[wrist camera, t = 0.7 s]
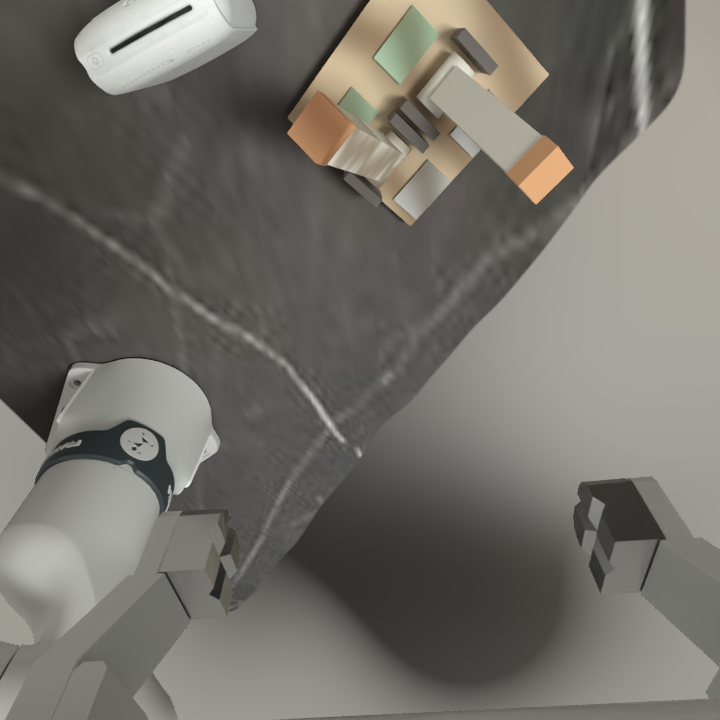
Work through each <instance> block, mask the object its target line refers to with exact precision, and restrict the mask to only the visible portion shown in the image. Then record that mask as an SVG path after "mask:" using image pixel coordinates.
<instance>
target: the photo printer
mask: <svg viewBox="0 0 720 720" xmlns="http://www.w3.org/2000/svg"><path fill="white" fill-rule="evenodd" d="M255 23H256V11H255V7H254V4H253V1H252V0H120V1H119V2H117V3H116V4H114V5H112V6H111V7H109V8H108V9H106V10H105V11H103V12H102V13H100V14H99V15H98V16H96V17H95V18H94V19H92V21H91V22H90V23H88V24H87V25H86V26H85V27H84V28H83V29H82V30H81V32H80V33H79V34H78V36H77V37H76V39H75V42H74V49H75V53H76V56H77V58H78V60H79V61H80V62H81V64H82V65H83V66H84V67H85V69H86V71H87V73H88V75H89V77H90V78H91V80H92V81H93V82H94V83H95V84H96V85H97V86H98V87H100V88H101V89H102V90H104V91H105V92H107V93H109V94H111V95H119V94H124V93H128V92H132V91H136V90H139V89H143V88H147V87H151V86H154V85H158V84H162V83H165V82H168V81H171V80H173V79H175V78H177V77H180V76H182V75H184V74H186V73H188V72H190V71H192V70H194V69H196V68H198V67H200V66H202V65H204V64H206V63H207V62H209V61H211V60H213V59H215V58H217V57H218V56H220V55H222V54H224V53H225V52H227V51H229V50H230V49H232V48H234V47H235V46H237V45H239V44H240V43H242V42H244V41H245V40H246V39H248V38H249V37H250V36H251V35H253V34H254V33H255V32H256V31H257V28H256V26H255Z"/></svg>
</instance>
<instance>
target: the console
mask: <svg viewBox="0 0 720 720" xmlns="http://www.w3.org/2000/svg"><path fill="white" fill-rule="evenodd" d="M453 51H454V52H455V53H457V54H458V55H459V56H460V57H461V58H462V59H463V60H464V61H465V62H466V63H467V64H468V65H469V66H470V68H471V69H472V70H473V71H474V73H475V76H474V77H473V79H474V80H475V81H476V82H477V83H478V84H480V85H481V86H482V87H483V88H485V89H486V90H487V91H488V92H489V93H491V94H492V95H493V96H494V97H495V98H497V99H498V100H499V101H500V102H501V103H503V104H504V105H505V106H506V107H508V108H509V109H510V110H511V111H512V112H515V111H516V110H517V109H518V108H519V107H520V106H521V105H522V104H523V103H524V102H525V100H526V99H527V98H528V97H529V96H530V95H531V94H532V93H533V92H534V91H535V90H536V88H537V87H538V86H539V85H540V84H541V83H542V82H543V81H544V80H545V79H546V78H547V76H548V75H549V74H548V73H547V72H546V71H545V69H544V68H543V67H542V66H541V65H540V63H539V62H538V61H537V60H536V59H535V57H534V56H533V55H532V54H531V53H530V51H529V50H528V49H527V48H526V47H525V46H524V44H523V43H522V42H521V41H520V40H519V38H518V37H517V36H516V35H515V34H514V32H513V31H512V30H511V29H510V28H509V26H508V25H507V24H506V23H505V22H504V21H503V19H502V18H501V17H500V16H499V15H498V13H497V12H496V11H495V10H494V9H493V7H492V6H491V5H490V4H489V3H488V1H487V0H370V1H369V2H368V4H367V5H366V7H365V8H364V10H363V11H362V12H361V14H360V15H359V17H358V18H357V20H356V21H355V22H354V24H353V25H352V27H351V28H350V29H349V31H348V32H347V34H346V35H345V37H344V38H343V39H342V41H341V42H340V44H339V45H338V47H337V48H336V49H335V51H334V52H333V54H332V55H331V56H330V58H329V59H328V61H327V62H326V64H325V65H324V66H323V68H322V69H321V71H320V72H319V74H318V75H317V76H316V78H315V79H314V81H313V82H312V83H311V85H310V86H309V88H308V89H307V91H306V92H305V93H304V95H303V96H302V98H301V99H300V101H299V102H298V103H297V105H296V106H295V108H294V109H293V110H292V112H291V113H290V115H289V116H288V119H289V120H290V121H291V122H292V123H293V126H292V127H291V128H290V130H289V131H288V133H287V134H288V135H289V136H290V137H291V138H292V139H293V140H294V141H295V142H296V143H297V144H298V145H299V146H300V147H301V148H302V149H303V150H304V152H305V153H306V154H307V155H308V156H309V157H310V158H311V159H312V160H313V161H314V162H315V163H316V164H319V165H322V166H326V165H330V166H333V167H336V168H339V169H342V170H344V177H343V179H344V180H345V181H346V182H347V183H348V184H350V185H351V186H352V187H353V188H354V189H355V190H356V191H358V192H359V193H360V194H361V195H362V196H363V197H365V198H366V199H367V200H368V201H369V202H370V203H371V204H373V205H374V206H375V207H377V206H378V205H379V204H380V203H381V202H383V203H385V204H386V205H387V206H388V207H389V208H390V209H391V210H393V211H394V212H395V213H396V214H397V215H398V216H399V217H401V218H402V219H403V220H404V221H405V222H406V223H407V224H409V225H410V226H411V225H412V224H413V223H414V222H415V221H416V219H417V218H418V217H419V216H420V215H421V214H422V213H423V212H424V211H425V210H426V209H427V207H428V206H429V205H430V204H431V203H432V202H433V201H434V200H435V199H436V198H437V197H438V195H439V194H440V193H441V192H442V191H443V190H444V189H445V188H446V187H447V186H448V185H449V183H450V182H451V181H452V180H453V179H454V178H455V177H456V176H457V175H458V174H459V173H460V171H461V170H462V169H463V168H464V167H465V166H466V165H467V164H468V163H469V162H470V161H471V159H472V158H473V157H474V156H475V155H476V154H477V153H478V152H479V151H480V150H481V149H480V148H479V147H478V146H477V145H476V144H475V143H474V142H473V141H472V140H471V139H470V138H469V137H468V136H467V135H466V134H465V133H464V132H463V131H462V130H461V129H460V128H459V127H458V126H457V125H456V124H455V123H453V122H452V121H451V120H450V119H449V118H448V117H447V116H446V115H445V114H444V113H443V114H442V115H441V116H440V117H439V119H437V118H436V117H435V116H434V115H433V114H432V113H431V112H430V111H429V110H428V109H427V108H426V107H425V106H424V104H423V103H422V102H421V101H420V100H419V99H418V98H417V97H416V96H417V95H418V94H419V93H420V92H421V90H422V89H423V88H424V87H425V85H426V84H427V83H428V82H429V80H430V79H431V78H432V77H433V75H434V74H435V73H436V72H437V71H438V69H439V68H440V67H441V66H442V64H443V63H444V62H445V61H446V59H447V58H448V57H449V56H450V54H451V53H452V52H453Z"/></svg>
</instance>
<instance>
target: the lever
mask: <svg viewBox="0 0 720 720" xmlns="http://www.w3.org/2000/svg"><path fill="white" fill-rule="evenodd" d="M474 76H475V73H474V71H473V70H472V69H471V68H470V66H469V65H468V64H467V63H466V62H465V61H464V60H463V59H462V58H461V57H460V56H459V55H458V54H457V53H455V52H454V51H453V52H452V53H451V54H450V56H449V57H448V58H447V59H446V61H445V62H444V63H443V64H442V66H441V67H440V68H439V69H438V71H437V72H436V73H435V74H434V75H433V77H432V78H431V79H430V80H429V82H428V83H427V84H426V85H425V87H424V88H423V89H422V90H421V92H420V93H419V94H418V95H417V96H416V97H417V98H418V99H419V100H420V101H421V102H422V103H423V104H424V106H425V107H426V108H427V109H428V110H429V111H430V112H431V113H432V114H433V115H434V116H435V117H436V118H437V119H439V117H440V116H441V115H442V114H443V113H444V114H445V115H446V116H447V117H448V118H449V119H450V120H451V121H452V122H453V123H455V124H456V125H457V126H458V127H459V128H460V129H461V130H462V131H463V132H464V133H465V134H466V135H467V136H468V137H469V138H470V139H471V140H472V141H473V142H474V143H475V144H476V145H477V146H478V147H479V148H480V149H481V150H482V151H483V152H485V153H486V154H487V155H488V156H489V157H490V158H491V159H492V160H493V161H494V162H495V163H496V164H497V165H498V166H499V167H500V168H501V169H502V170H503V171H504V172H505V173H506V174H507V175H508V177H509V178H510V179H511V180H512V181H513V182H514V183H515V184H516V185H517V186H518V187H519V188H520V189H521V190H522V191H523V192H524V193H525V194H526V195H527V196H528V197H529V198H530V199H531V200H532V201H533V202H534V203H535V204H537V203H538V202H539V201H540V200H541V199H542V198H543V197H544V196H545V195H546V194H547V193H548V192H549V191H551V190H552V189H553V188H554V187H555V186H556V185H557V184H558V183H559V182H560V181H561V180H562V179H563V178H564V177H565V176H566V175H567V174H568V173H569V172H570V171H571V170H572V169H573V168H574V167H573V166H572V165H571V163H570V162H569V161H568V159H567V158H566V157H565V155H564V154H563V152H562V151H561V150H560V148H559V147H558V146H557V145H556V144H555V143H553V142H552V141H551V140H550V139H549V138H547V137H546V136H545V135H543V136H542V135H540V134H539V133H538V132H537V131H535V130H534V129H533V128H532V127H531V126H529V125H528V124H527V123H526V122H525V121H523V120H522V119H521V118H520V117H518V116H517V115H516V114H515V113H514V112H512V111H511V110H510V109H509V108H508V107H506V106H505V105H504V104H503V103H501V102H500V101H499V100H498V99H497V98H495V97H494V96H493V95H492V94H491V93H489V92H488V91H487V90H486V89H485V88H483V87H482V86H481V85H480V84H478V83H477V82H476V81H475V80H474V79H473V77H474Z"/></svg>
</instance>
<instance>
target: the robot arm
mask: <svg viewBox="0 0 720 720" xmlns="http://www.w3.org/2000/svg"><path fill="white" fill-rule="evenodd" d="M77 380H78V381H80V382H81V383H80V382H78V381H77ZM219 446H220V440H219V437H218V435H217V434H216V432H215V430H214V429H213V427H212V420H211V409H210V406H209V403H208V400H207V398H206V396H205V395H204V393H203V392H202V390H201V389H200V388H199V387H198V385H197V384H196V383H195V382H194V381H193V380H191V379H190V378H189V377H188V376H186V375H185V374H184V373H182V372H180V371H179V370H177V369H175V368H173V367H171V366H169V365H166V364H163V363H160V362H157V361H153V360H148V359H139V358H130V359H121V360H117V361H113V362H109V363H105V364H96V363H75V364H74V365H72V367H71V368H70V370H69V372H68V375H67V378H66V381H65V385H64V388H63V391H62V395H61V398H60V401H59V405H58V408H57V411H56V415H55V418H54V421H53V425H52V428H51V431H50V435H49V438H48V441H47V445H46V448H45V452H46V454H47V455H48V456H47V458H46V459H45V461H44V462H43V464H42V466H41V468H40V471H39V472H38V474H37V476H36V479H35V486H34V488H33V489H32V490H31V492H30V493H29V495H28V496H27V498H26V499H25V500H24V502H23V503H22V505H21V506H20V507H19V509H18V510H17V512H16V513H15V514H14V516H13V517H12V519H11V521H10V522H9V523H8V525H7V526H6V528H5V529H4V530H3V532H2V533H1V535H0V593H1V594H2V596H3V597H4V598H5V600H6V601H7V602H8V604H9V605H10V606H11V607H12V608H13V609H14V610H15V611H17V613H18V614H19V615H20V616H21V617H22V618H23V619H24V620H25V621H26V623H27V624H28V625H29V627H30V629H31V631H32V634H33V637H34V641H35V644H33V645H23V644H22V645H21V647H20V646H18V645H14V644H10V643H6V642H1V641H0V720H178V719H177V715H176V711H175V708H174V705H173V703H172V701H171V698H170V696H169V695H168V694H167V692H166V691H165V690H164V689H163V687H162V686H161V684H160V683H159V681H158V680H157V679H156V677H155V675H154V674H153V671H154V669H155V668H156V667H157V665H158V664H159V663H160V661H161V660H162V659H163V658H164V656H165V655H166V654H167V652H168V651H169V650H170V648H171V647H172V646H173V645H174V643H175V642H176V641H177V639H178V638H179V637H180V635H181V634H182V633H183V631H184V630H185V629H186V628H187V626H188V625H189V624H190V620H192V619H204V618H215V617H226V616H227V614H228V609H229V605H230V600H231V596H232V592H233V587H232V585H231V582H230V580H229V579H230V578H231V577H232V576H233V575H234V574H235V573H236V571H237V569H238V564H239V558H240V544H239V537H238V535H237V532H236V530H235V529H233V528H232V527H230V522H231V516H230V514H229V512H228V509H210V510H189V511H173V512H166V511H167V509H168V507H169V505H170V502H171V498H172V495H174V494H176V495H178V494H180V493H181V492H182V490H183V489H184V487H188V486H189V485H190V483H191V482H192V479H193V477H194V475H195V473H196V470H197V468H198V466H199V464H200V463H201V462H203V461H204V460H205V459H207V458H208V457H210V456H211V455H213V454H214V453H216V452H217V450H218V448H219ZM578 496H579V498H580V500H581V502H579V503H578V504H577V505H576V506H575V508H574V515H573V519H574V528H575V532H576V536H577V539H578V542H579V544H580V546H581V548H582V549H583V550H584V551H586V552H587V553H588V554H589V555H591V558H590V562H589V568H590V570H591V573H592V575H593V577H594V580H595V582H596V584H597V587H598V589H599V591H600V593H601V594H607V593H608V594H609V593H636V592H637V593H638V592H641V595H642V596H643V597H644V598H645V599H646V600H648V602H650V603H651V604H652V605H653V606H654V607H655V608H656V609H657V610H658V611H659V612H660V613H661V614H663V615H664V616H665V617H666V618H667V619H668V620H669V621H670V622H671V623H672V624H673V625H675V626H676V627H677V628H678V629H679V630H680V631H681V632H682V633H683V634H684V635H685V636H686V637H688V638H689V639H690V640H691V641H692V642H693V643H694V644H695V645H696V646H697V647H699V649H701V650H702V651H703V652H704V653H705V654H706V655H707V656H708V657H709V658H711V660H713V661H714V662H715V663H716V664H717V665H718V666H719V667H720V549H719V548H717V547H715V546H714V545H712V544H711V543H709V542H708V541H706V540H704V539H703V538H694V537H693V535H692V534H691V532H690V531H689V529H688V528H687V526H686V525H685V523H684V522H683V520H682V519H681V517H680V516H679V514H678V512H677V511H676V509H675V508H674V506H673V505H672V503H671V502H670V501H669V499H668V497H667V496H666V494H665V493H664V491H663V490H662V488H661V487H660V485H659V484H658V482H657V481H656V480H655V479H654V478H653V477H640V478H628V479H626V478H621V479H610V480H599V481H587V482H582V483H581V484H580V485H579V488H578ZM19 647H20V648H19ZM706 693H707V695H708V697H709V699H692V700H672V701H671V700H670V701H650V702H630V703H608V704H588V705H567V706H548V707H547V706H546V707H525V708H505V709H486V710H464V711H443V712H423V713H402V714H382V715H361V716H341V717H321V718H300V719H281V720H720V668H719V670H718V671H717V673H716V675H715V677H714V678H713V680H712V682H711V683H710V685H709V687H708V689H707V691H706Z"/></svg>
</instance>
